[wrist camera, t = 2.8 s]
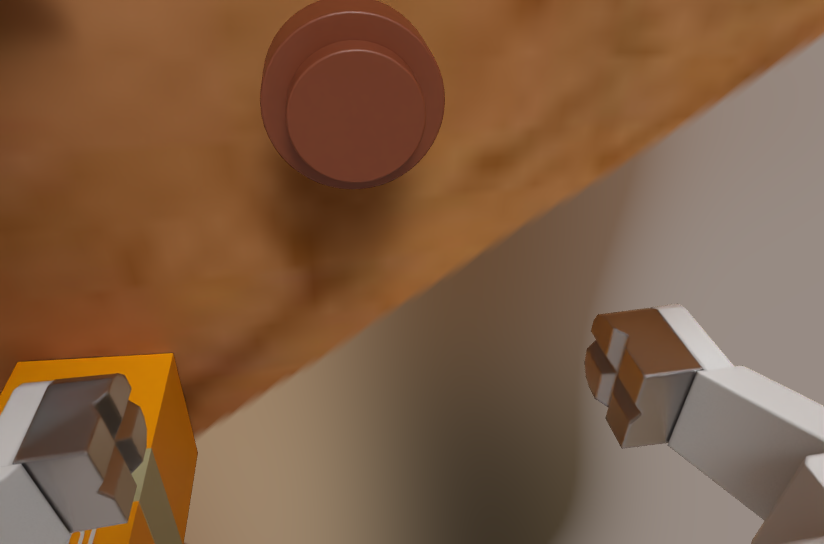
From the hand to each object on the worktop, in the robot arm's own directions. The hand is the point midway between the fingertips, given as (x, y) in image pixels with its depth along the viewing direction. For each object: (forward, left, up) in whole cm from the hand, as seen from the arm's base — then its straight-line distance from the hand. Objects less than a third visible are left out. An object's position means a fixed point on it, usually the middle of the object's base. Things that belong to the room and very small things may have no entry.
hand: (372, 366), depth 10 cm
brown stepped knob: (0, 0, -16) cm, 16 cm away
